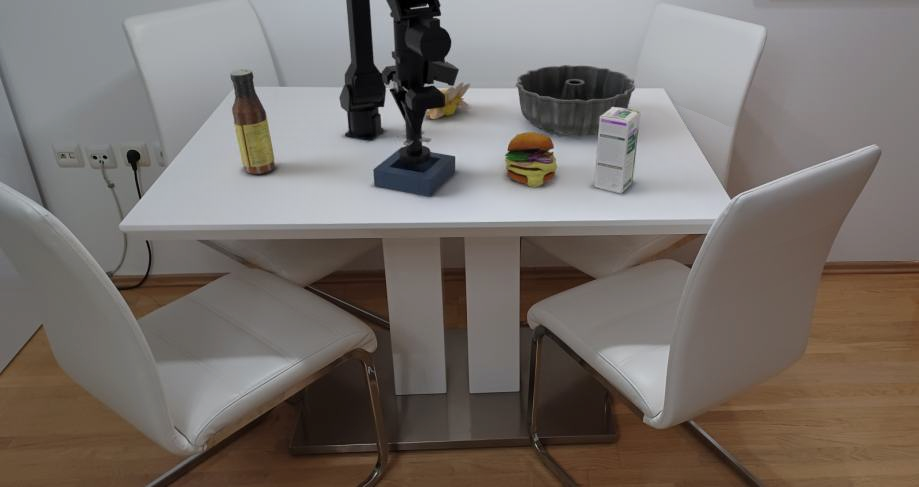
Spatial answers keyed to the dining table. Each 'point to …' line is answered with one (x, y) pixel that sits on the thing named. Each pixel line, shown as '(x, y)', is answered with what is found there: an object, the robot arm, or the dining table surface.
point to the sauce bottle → (251, 125)
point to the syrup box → (616, 149)
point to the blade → (413, 146)
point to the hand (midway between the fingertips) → (413, 130)
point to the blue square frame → (414, 174)
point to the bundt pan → (571, 97)
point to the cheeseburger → (531, 159)
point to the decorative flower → (450, 101)
